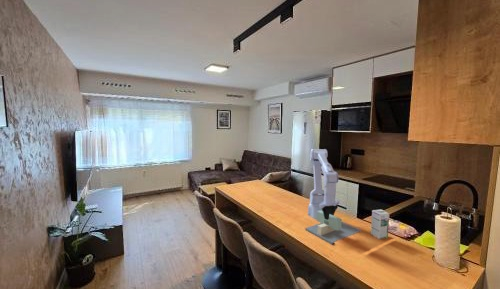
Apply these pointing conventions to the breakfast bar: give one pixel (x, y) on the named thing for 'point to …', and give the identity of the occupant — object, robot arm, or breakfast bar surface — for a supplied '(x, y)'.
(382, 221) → the syrup box
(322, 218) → the cross plate
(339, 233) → the slotted base
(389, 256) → the breakfast bar surface
